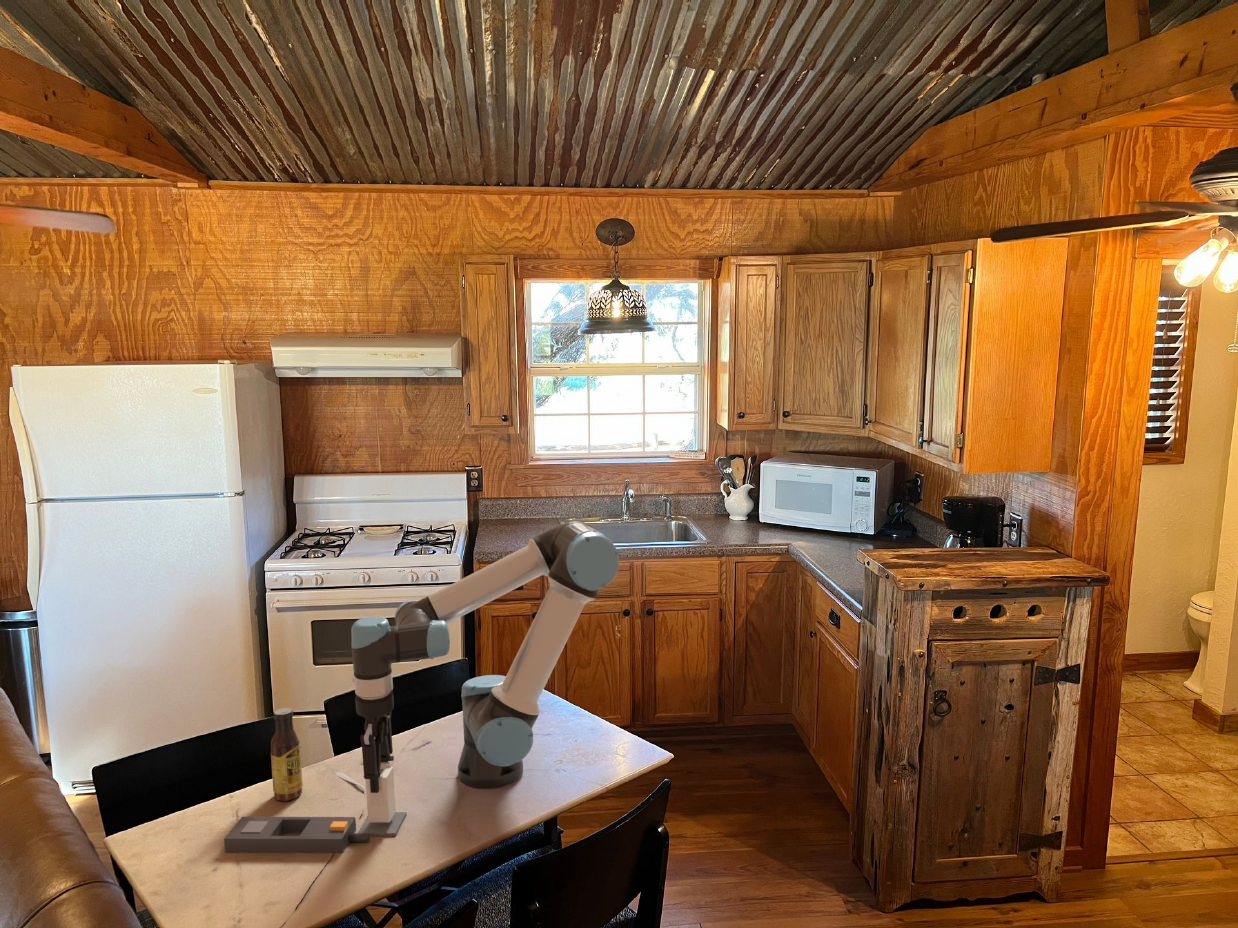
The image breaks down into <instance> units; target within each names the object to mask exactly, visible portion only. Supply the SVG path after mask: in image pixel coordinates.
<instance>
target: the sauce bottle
mask: <svg viewBox="0 0 1238 928" xmlns="http://www.w3.org/2000/svg"><path fill="white" fill-rule="evenodd" d="M293 717H294V711H293V709H292V708H291V707H283V708H282V707H281V708H277V709H276V710H274V712H273V719H274V727H275V729H274V731H275V732H274V734H273V736H272V738H271V741H270V759H271V763H270V764H271V775H272V777H271V778H272V790H273V791H272V792H273V793H274V794H273V795H274V799H276V800H277V801H281V802H286V801H291V800H294V799H296V798H298V797H299V796H301V794H302V792H303V785H304V784H303V783H304V782H303V770H302V769H303V768H302V752H301V742H300V740H299V738H298V735H297V733H296V731H295V729H294V723H293V722H294V720H293Z"/></svg>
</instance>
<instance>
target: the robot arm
mask: <svg viewBox="0 0 1238 928" xmlns="http://www.w3.org/2000/svg"><path fill="white" fill-rule="evenodd" d="M619 566H620V556H619V552H618V549H617V548H616V546H615V544H614V543H613V542H612V540H611V539H610V538H609V537H608V536H607V535H605V534H604V533H602V532H600V531H598V530H597V529H595V528H594V527H592V526H591V525H590V524H589V523H586V522H584V521H577V520H576V521H575V520H573V521H572V520H571V521H567V522H563V523H560V524H558V525H556V526H554V527H552V528H549V529H548V530H546V531H545V530H544V532H542V533H539V534H537V535H536V536H533V537H532V538H530V539H529V541H528V543H527V544H526V546H524V547H522V548H519V549H518V550H516V551H514V552H512V553H510V554H508V555H506V556H504V557H502V558H501V559H498V560H496V561H494V562H493V563H490V564H488V565H487V566H485V567H482V568H481V569H478V570H476V571H475V572H473V573H471V574H469V575H467V576H464V577H463V578H461V579H460V580H457V581H455V582H453V583H452V584H448V586H445V587H444V588H442V589H439V590H437V591H435V592H434V593H431V594H429V595H427V596H425V597H423V598H421V599H419V600H416V599H414V600H413V599H409V600H406V601H404V602H402V603H401V604H399V606H398V607H397V608H396V611H395V613H394V625H392V626H391V625H390V624H389V623H390V622H389V620H388V619H387V618H386V617H383V616H368V617H363V618H360V619H357V620H356V621H355V622H354V623H353V624H352V625H351V631H350V633H351V643H350V644H351V654H352V655H351V656H352V657H351V658H352V666H353V667H352V668H353V677H352V679H351V681H352V682H353V683H354V692H355V698H354V700H355V711H356V714H357V715H358V716H360V717H362V718H364V719H365V721H364V722H363V723H364V724H363V731H364V734H360V736H359V741H360V745H361V754H362V767H363V768H362V769H363V775H362V776H363V779H364V780H365V779H369V794H370V806H383V805H384V793H383V776H382V774H381V767H391V765H390V764H391V763H390V762H393V761H394V758H395V756H394V755H392V754H393V753H394V750H393V736H392V735H393V734H392V711H393V710H394V707H395V706H394V705H395V704H394V691H393V689H394V683H393V681H394V680H393V669H392V664H399V663H406V662H412V661H420V660H421V661H422V660H428V659H431V660H434V658H441V657H444V656H447V655H448V654H449V652H450V649H451V646H450V645H451V643H450V640H451V639H450V632H449V631H450V630H449V626H448V624H449V623H451V622H453V621H455V620H458V619H459V618H461V617H463V616H465V615H468V614H469V613H471V612H473V611H475V610H477V609H479V608H481V607H482V606H485V605H487V604H488V603H490V602H493V601H494V600H496V599H499V598H500V597H503V596H504V595H506V594H508V593H510V592H512V591H513V590H516V589H518V588H519V587H521V586H524V585H525V584H527V583H529V582H531V581H533V580H535V579H537V578H539V577H541V576H545V577H547V578H548V583H549V588H548V590H547V592H546V594H545V596H544V598H543V600H542V602H541V604H540V606H539V608H538V611H537V612H536V614H535V617H534V619H533V620H532V622H531V625H530V626H529V629H528V630H527V633H526V634H525V637H524V639H523V641H522V643H521V644H520V647H519V649H518V651H517V653H516V656H515V657H514V659H513V661H512V663H511V665H510V668H509V670H508V672H507V674H506V676H505V675H502V674H501V675H500V674H488V675H481V676H476V677H473V678H470V679H468V680H466V681H465V682H464V683H463V684H462V686H461V695H460V696H461V701H462V704H461V705H462V723H463V725H462V726H463V747H462V750H461V754H460V756H459V757H460V758H459V761H458V765H457V776H458V779H459V782H461V783H462V784H463V785H465V786H467V787H470V788H473V789H480V790H481V789H482V790H483V789H484V790H486V789H487V790H489V789H491V790H492V789H497V788H502V787H506V786H508V785H511V784H512V783H514V782H516V781H517V780H519V779H520V778H521V776H522V775H523V773H524V761H523V760H524V759H525V758H526V757H527V756H528V755H529V753H530V751H531V750H532V747H533V744H534V732H533V728H534V725H535V724H536V721H537V720H538V717H539V714H540V713H541V709H540V706H539V703H538V702H539V699H540V698H541V695H542V693H543V691H544V689H545V687H546V685H547V683H548V680H549V679H550V676H551V674H552V672H553V670H554V668H555V666H556V664H557V663H558V660H559V658H560V656H561V653H562V652H563V650H564V648H565V645H566V644H567V642H568V640H569V638H570V635H571V634H572V631H573V629H574V627H575V626H576V623H577V622H578V619H579V618H580V615H581V613H582V611H583V609H584V607H585V605H586V604H587V603H590V602H592V601H595V600H596V598H597V596H598V594H600V593H599V592H600V590H601V589H603V588H604V587H607V586H608V585H610V584H611V583H612V581H613V580H614V579H615V577H616V576H617V574H618V571H619V568H620V567H619Z"/></svg>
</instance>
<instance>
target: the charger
mask: <svg viewBox="0 0 1238 928" xmlns="http://www.w3.org/2000/svg"><path fill="white" fill-rule="evenodd" d="M381 774H382V776H383V793H384V805H383V806H370V794H369V779H364V780H365V787H366V795H365V796H366V808H367V816H368V822H390V821H391V819H392V817H393V815H394V813H395V812H397V811H396V810H397V809H396V808H397V807H396V806H397V805H396V794H395V793H396V792H395V776H394V775H395V774H394V766H390V767H381Z"/></svg>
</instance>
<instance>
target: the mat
mask: <svg viewBox="0 0 1238 928" xmlns="http://www.w3.org/2000/svg"><path fill="white" fill-rule="evenodd" d="M406 817H407V811H395V813H394V815H393V817H392V819H391V821H390V822H368V815H367V816H366V818H365V819H364V821H363V823H362V824H361V826H360V828H359V830H358V831H357V834H370V837H379V836H380V837H396V836H397V835H398V834H399V831H400V828H401V827H402V825H403V823H404V821H405V819H406Z"/></svg>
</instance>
